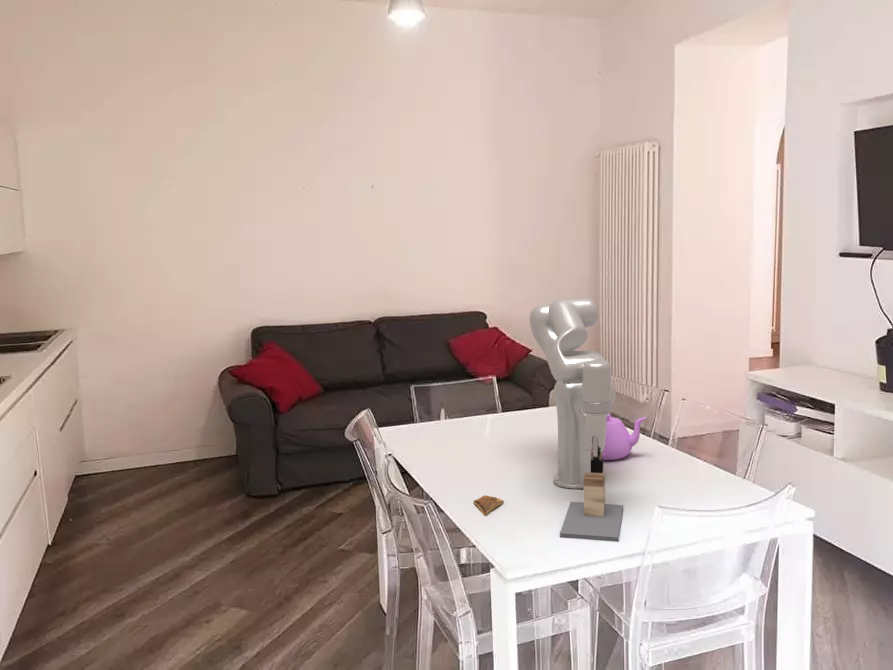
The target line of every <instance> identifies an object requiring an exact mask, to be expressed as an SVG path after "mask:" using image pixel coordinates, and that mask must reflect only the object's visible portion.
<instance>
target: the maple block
mask: <svg viewBox="0 0 893 670" xmlns="http://www.w3.org/2000/svg"><path fill="white" fill-rule="evenodd" d="M605 486H606V473H604V472H603V473H589V472H585V476H584V488H583V503H584V516H598V517H604V512H605V504H606V487H605Z"/></svg>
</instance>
